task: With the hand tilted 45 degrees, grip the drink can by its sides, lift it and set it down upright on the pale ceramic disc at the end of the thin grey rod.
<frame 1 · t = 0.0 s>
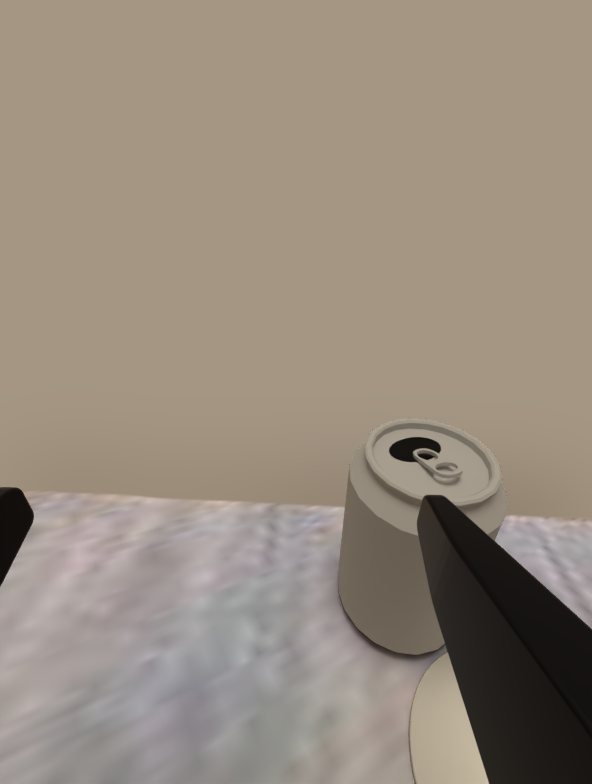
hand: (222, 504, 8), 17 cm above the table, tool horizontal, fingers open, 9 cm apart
can: (394, 597, 23), on the table
disc: (524, 776, 16), on the table
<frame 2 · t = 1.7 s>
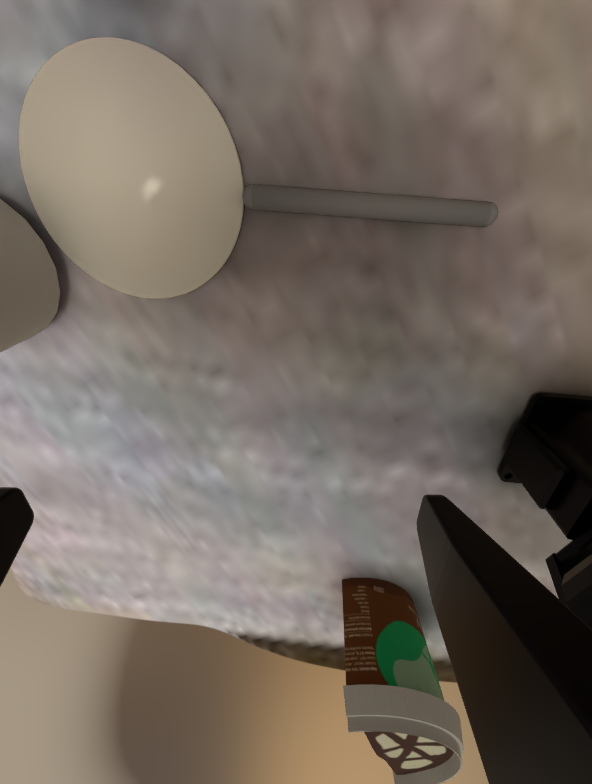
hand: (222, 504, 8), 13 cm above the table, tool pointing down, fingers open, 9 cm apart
can: (0, 264, 18), on the table
disc: (137, 188, 16), on the table
thin grey rod: (367, 205, 16), on the table
food container: (390, 601, 31), on the table
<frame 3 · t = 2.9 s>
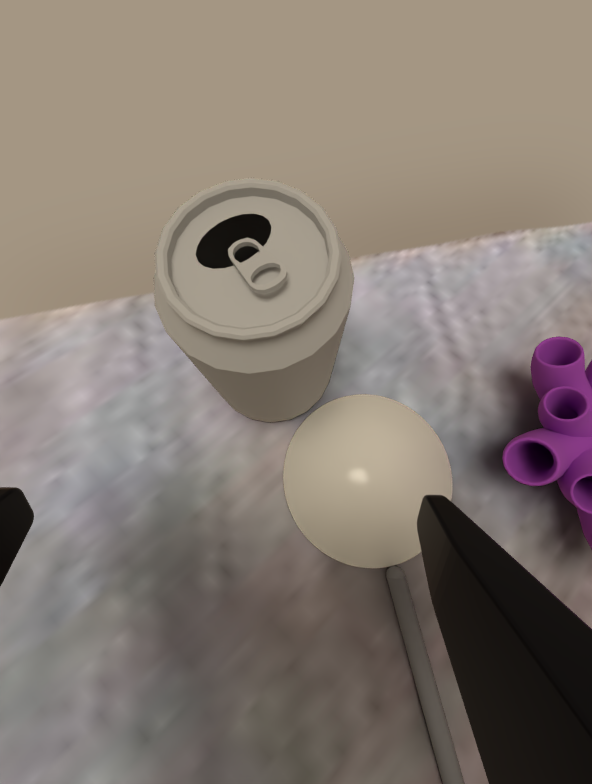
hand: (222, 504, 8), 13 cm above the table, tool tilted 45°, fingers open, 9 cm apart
purple tube coral sculpture: (581, 453, 21), on the table
can: (273, 369, 23), on the table
disc: (366, 476, 21), on the table
thin grey rod: (422, 680, 18), on the table
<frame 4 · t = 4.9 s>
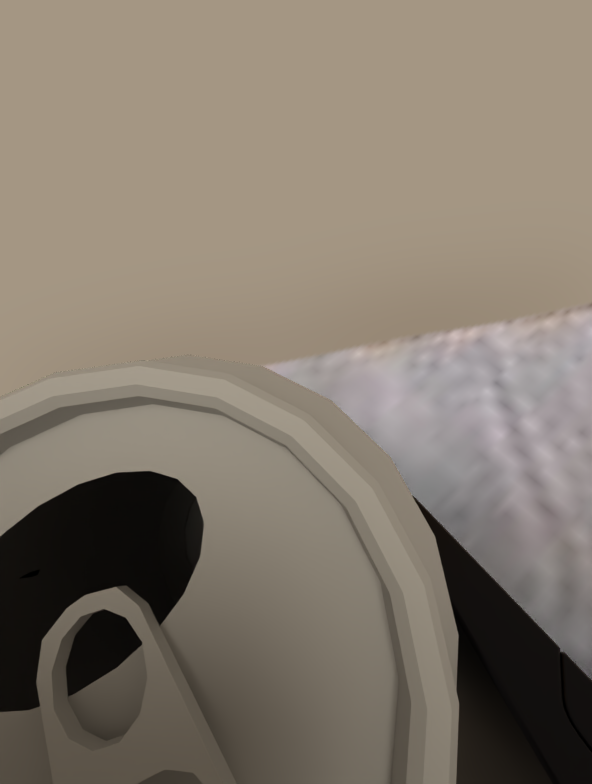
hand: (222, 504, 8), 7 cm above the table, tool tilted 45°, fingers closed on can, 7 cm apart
can: (257, 530, 15), on the table, touching gripper
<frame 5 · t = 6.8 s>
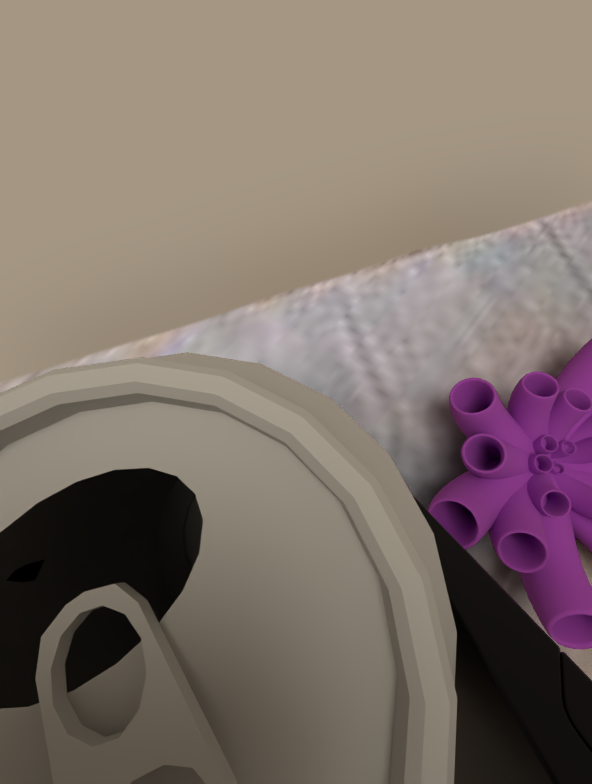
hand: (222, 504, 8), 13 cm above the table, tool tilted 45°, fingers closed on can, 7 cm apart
purple tube coral sculpture: (519, 481, 21), on the table
can: (256, 529, 15), point 6 cm above the table, touching gripper
when the fingers open (8 cm above the table, at t = 8.5 s): can stays where it is, resting on disc.
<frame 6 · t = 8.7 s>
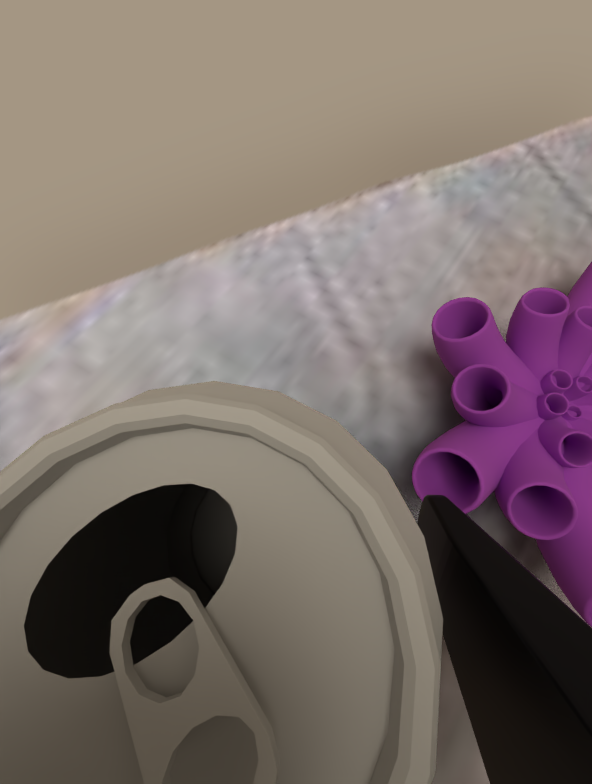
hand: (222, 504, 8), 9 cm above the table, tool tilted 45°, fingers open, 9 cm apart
purple tube coral sculpture: (526, 437, 17), on the table
can: (260, 532, 15), resting on disc
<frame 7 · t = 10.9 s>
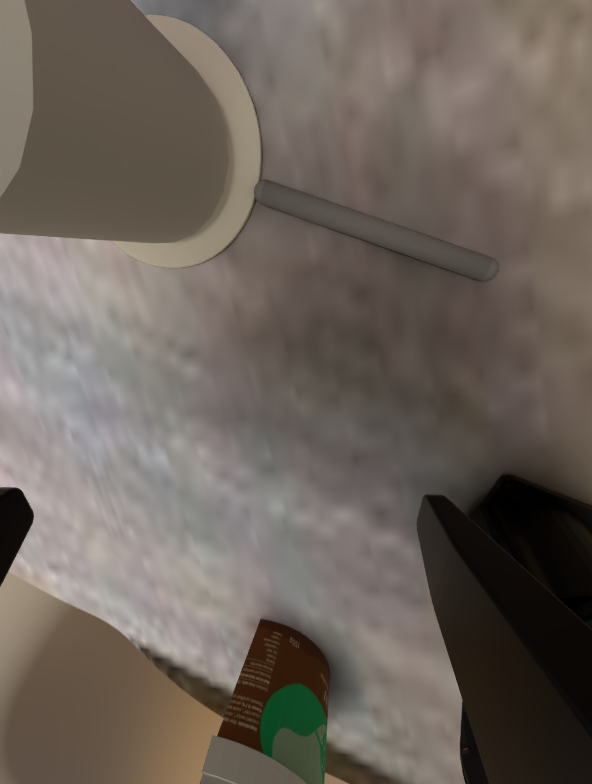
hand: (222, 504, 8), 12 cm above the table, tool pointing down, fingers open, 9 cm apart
can: (164, 159, 17), resting on disc
disc: (163, 157, 17), on the table
thin grey rod: (372, 230, 16), on the table
food container: (306, 662, 28), on the table
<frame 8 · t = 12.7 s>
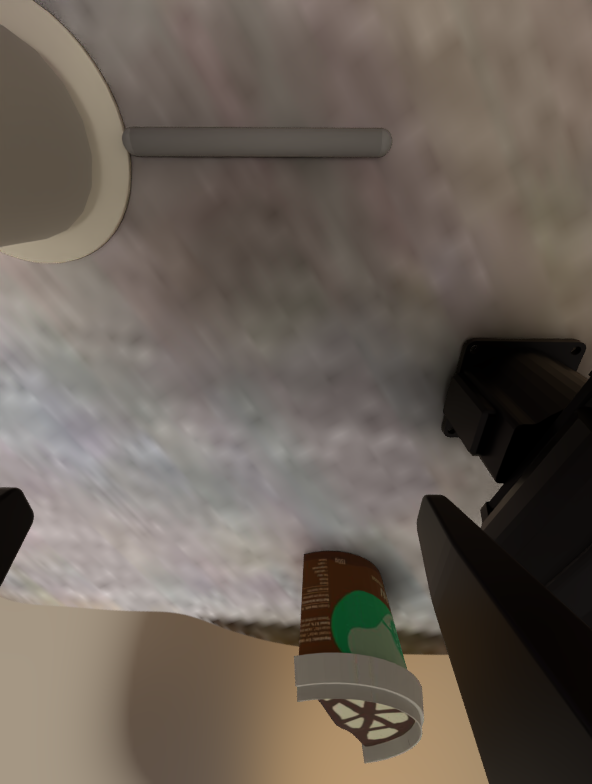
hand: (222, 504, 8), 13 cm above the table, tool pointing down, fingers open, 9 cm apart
can: (17, 144, 15), resting on disc
disc: (15, 142, 15), on the table
thin grey rod: (258, 143, 15), on the table
food container: (357, 574, 31), on the table
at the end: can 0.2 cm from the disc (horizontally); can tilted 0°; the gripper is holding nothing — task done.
